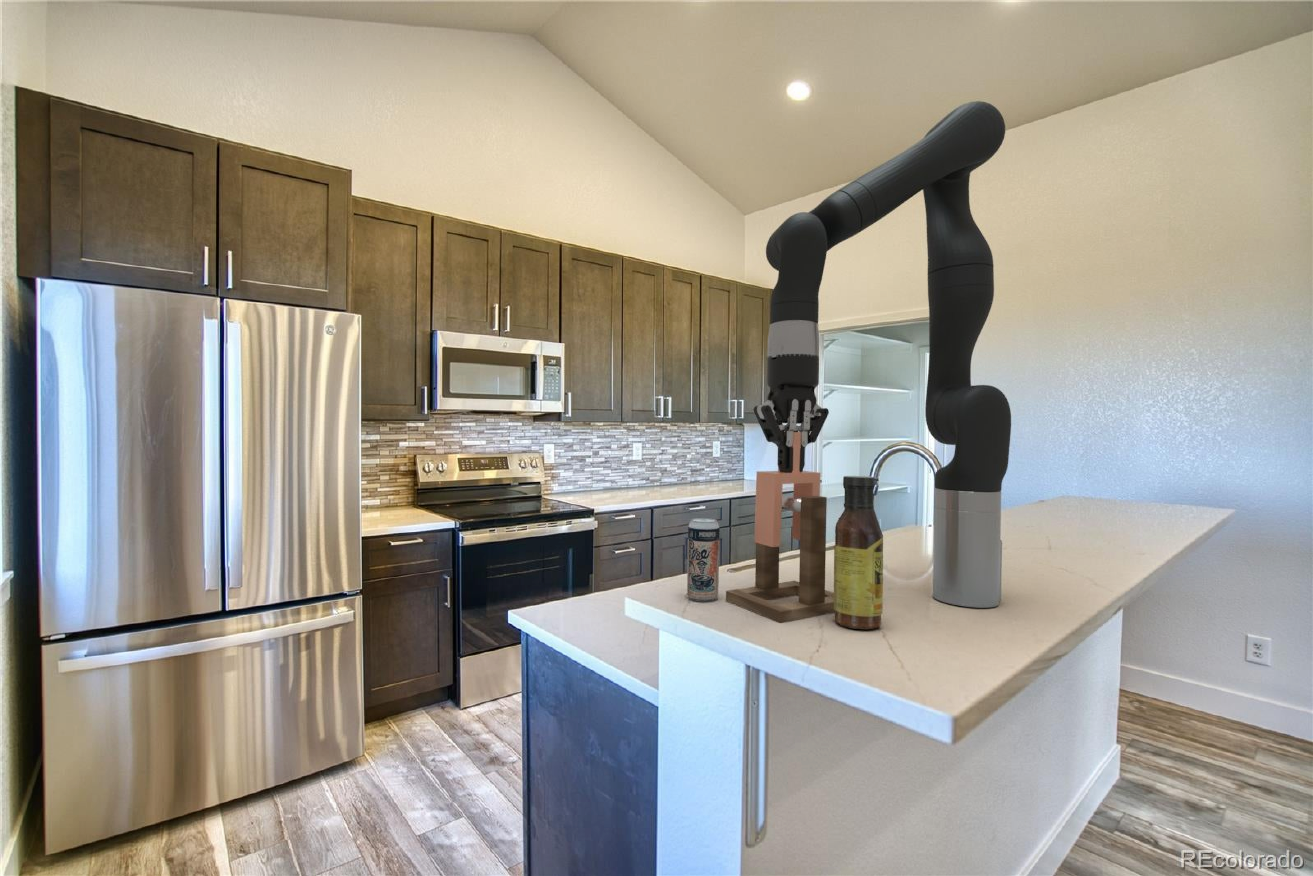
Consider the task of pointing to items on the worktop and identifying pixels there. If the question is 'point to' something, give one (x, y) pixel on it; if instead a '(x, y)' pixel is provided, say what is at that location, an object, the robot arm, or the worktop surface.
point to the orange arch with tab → (771, 498)
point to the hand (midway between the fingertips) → (790, 471)
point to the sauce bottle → (858, 558)
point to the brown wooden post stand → (810, 575)
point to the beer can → (703, 559)
